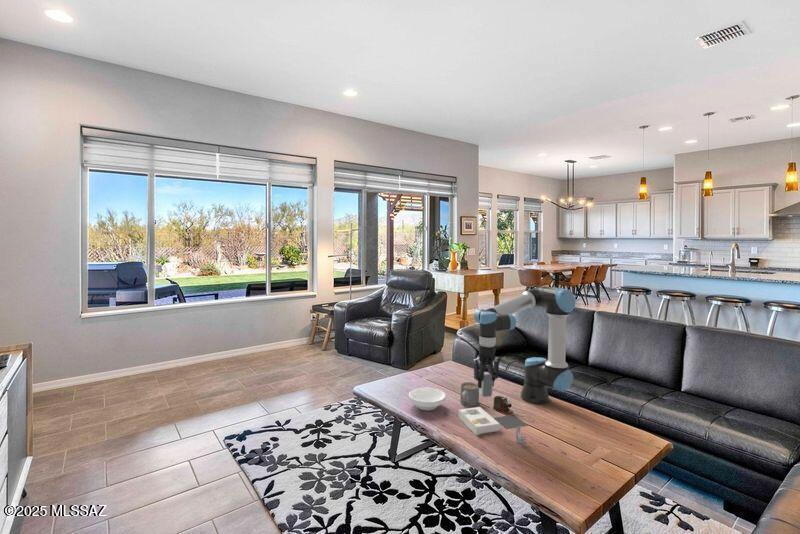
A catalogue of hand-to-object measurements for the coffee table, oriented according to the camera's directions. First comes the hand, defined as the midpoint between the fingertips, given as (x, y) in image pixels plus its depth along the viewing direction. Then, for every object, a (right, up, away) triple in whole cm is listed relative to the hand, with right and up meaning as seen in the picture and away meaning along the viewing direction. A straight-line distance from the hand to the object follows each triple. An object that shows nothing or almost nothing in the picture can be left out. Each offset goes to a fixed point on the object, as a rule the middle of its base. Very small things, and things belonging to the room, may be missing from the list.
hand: (485, 393), depth 187 cm
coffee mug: (-3, -15, +30) cm, 33 cm away
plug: (0, -1, 0) cm, 1 cm away
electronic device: (+14, -16, +20) cm, 29 cm away
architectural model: (+18, -19, -9) cm, 28 cm away
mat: (+14, -17, +8) cm, 23 cm away
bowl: (-26, -15, +25) cm, 39 cm away
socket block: (-2, -17, +6) cm, 18 cm away
